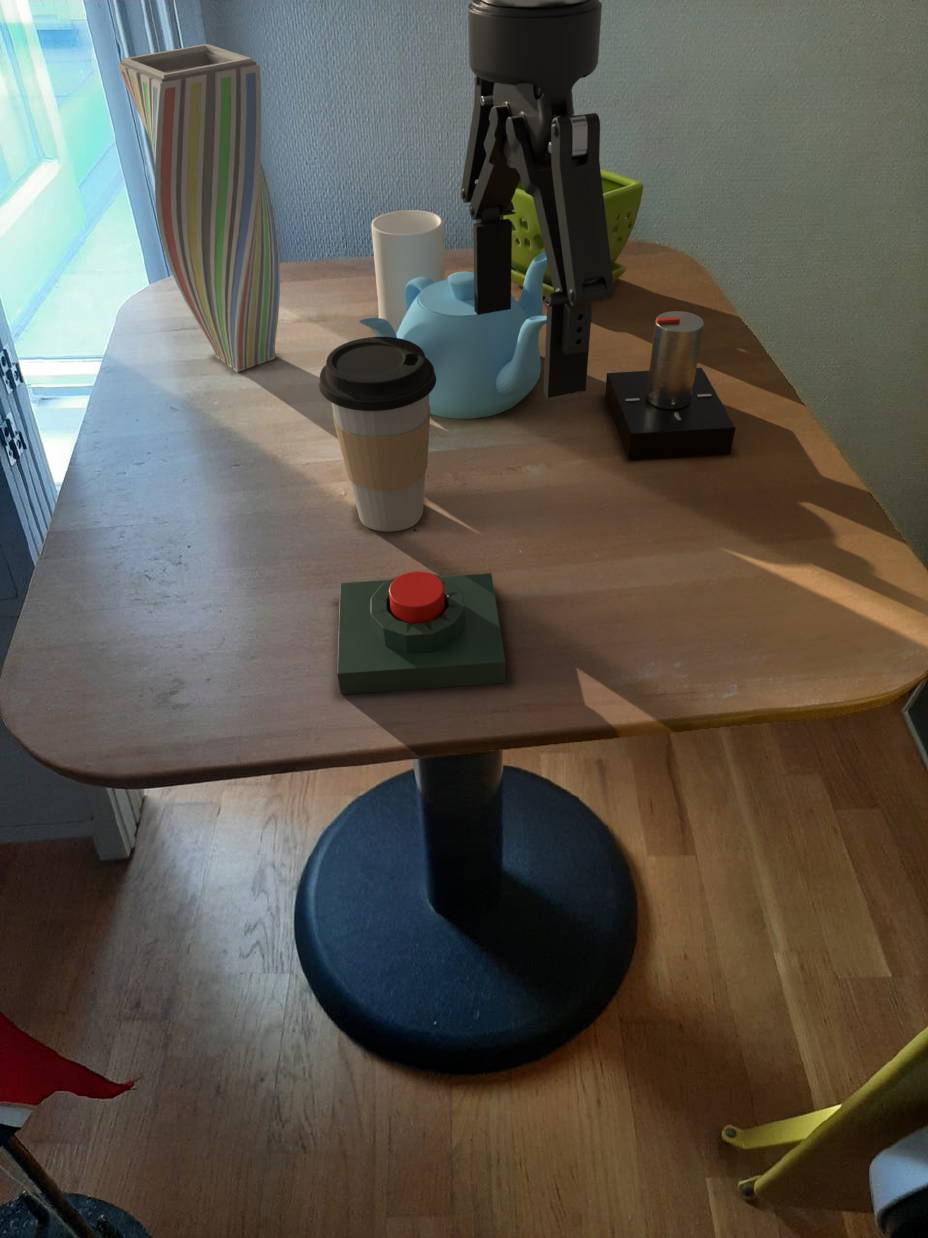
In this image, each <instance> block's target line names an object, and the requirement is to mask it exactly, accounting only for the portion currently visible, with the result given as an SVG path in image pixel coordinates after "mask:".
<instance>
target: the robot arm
mask: <svg viewBox="0 0 928 1238" xmlns="http://www.w3.org/2000/svg"><path fill="white" fill-rule="evenodd" d="M602 7H603V3H602V1H600V0H471V2H470V3H469V4H468V6H467V14H468V16H467V19H468V24H467V25H468V65H469V68H470V70H471V72H472V73H473V74H474V78H473V79H474V94H473V95H474V96H473V109H472V117H471V122H470V129H469V136H468V141H467V149H466V155H465V160H464V167H463V173H462V181H461V185H460V186H461V187H460V198H461V200H462V202H463V203H464V204H469V206H468V207H469V208H468V213H469V215H470V218H471V220H472V221H475V223H473V224H472V233H473V234H472V236H473V239H472V240H473V243H472V244H473V273H474V311H475V312H476V313H477V315H480V314H486V313H491V312H497V311H503V310H509V309H511V294H512V281H511V266H512V221H510V220H509V219H502V220H500V216H506V215H512V214H515V212H513V211H512V210H514V206H513V203H512V202H511V201H512V198H513V196H514V193H515V191H516V189H517V186H518V184H519V181H520V179H521V182H522V186H523V189H524V191H525V192H526V193H527V194H529V195H531V196H532V197H533V200H534V204H535V209H536V213H537V218H538V222H539V226H540V231H541V235H542V240H543V244H544V249H545V253H546V258H547V262H548V267H549V271H550V276H551V280H552V284H553V289H554V293H550V295H548V296H547V297H545V298H544V299H543V302H544V304H545V306H546V316H547V321H546V323H545V324H546V325H545V347H544V348H545V349H544V372H543V373H544V375H543V394H544V395H545V397H546V398H547V399H551V398H556V397H561V396H565V395H571V394H575V393H581V392H586V390H587V377H588V364H589V351H590V337H591V324H592V310H593V303H599V302H606V301H610V300H612V299H613V298H614V295H615V286H614V282H613V276H612V267H611V258H610V250H609V241H608V232H607V223H606V214H605V205H604V197H603V188H602V179H601V170H600V169H601V163H600V154H601V153H600V151H601V150H600V149H601V148H600V147H601V121H600V120H601V119H600V117H599V114H598V113H597V112H592V113H584V114H583V113H582V114H575V109H574V99H573V88H574V86H575V84H576V83H577V82H578V81H579V80H580V79H581V78H582V79H583V78H586V77H588V76H590V75H591V74H592V73H593V72H594V71H595V70H596V68H597V67H598V64H599V53H600V40H601V39H600V38H601V25H602V10H603V8H602ZM476 181H477V182H476Z"/></svg>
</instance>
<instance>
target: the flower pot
mask: <svg viewBox="0 0 928 1238" xmlns="http://www.w3.org/2000/svg"><path fill="white" fill-rule="evenodd" d="M600 170H601V179H602V188H603V197H604V205H605V214H606V223H607V232H608V241H609V250H610V258H611V267H612V276H613V283H615V282H616V281H617V280H618V279H619V278H620V277H622V275H624V273H625V271H626V270H627V267H626V266H625V265H623V264H621V263H619V262H616V261H617V259H618V257H620V255H621V253H622V251H623V250H624V248H625V247H626V245H627V242H628V240H629V238H630V236H631V233H632V232H633V228H634V226H635V224H636V220H637V217H638V214H639V210H640V207H641V206H640V205H641V202H642V197H643V192H644V183H642V182H641V181H639V180H635V179H633V178H630V177H627V176H625V175H621V174H618V173H616V172H612V171H609V170H606V169H603V168H600ZM511 202H512V203H513V206H514V210H512V211H513V212H515V214H512V215H506V216H500V220H502V219H509V220H510V221H512V266H511V283H513V284H516V285H518V286H519V287H522V288H523V285H524V280H525V276H526V273H527V270H528V268H529V266H530V264H531V262H532V261H533V260H534V258H535V257H537V256H538V255H539V254H540V253H542V252H543V251H545V249H544V244H543V240H542V235H541V231H540V226H539V222H538V218H537V213H536V209H535V204H534V200H533V197H532V196H531V195H529V194H527V193H526V192H525V191H524V189H523V186H522V182H521V179H520V181H519V184H518V186H517V189H516V191H515V193H514V196H513V198H512V201H511ZM542 292H543V298H546V297H547V296H548V295H550V293H554V289H553V284H552V280H551V276H550V271H549V267H548V265H547V267H546V270H545V272H544V277H543V287H542Z"/></svg>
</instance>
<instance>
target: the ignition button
mask: <svg viewBox="0 0 928 1238" xmlns="http://www.w3.org/2000/svg"><path fill="white" fill-rule="evenodd" d="M430 573H431V572H427V573H426V572H425V571H409V572H406V573H402V574H403V575H402V574H400V575H401V576H400V575H398V576H399V577H398V576H396V577H397V578H396V577H395V578H396V579H395V580H394V581H393V582H392V583H391V585H390V588H389V597H390V607H391V612H392V613H393V615H394V616H395V617H396V618H397V619H398V620H400V621H402V622H405V623H408V624H418V623H428V622H430V621H432V620H435V619H436V618H438V617H439V616H440V615H441V613H442V612H443V610H444V606H445V603H444V587H443V584H442V582H441V580H440V579H439V578H437V577H436V576H435V575H436V574H435V575H432V574H433V573H431V574H430Z"/></svg>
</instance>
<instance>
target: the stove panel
mask: <svg viewBox="0 0 928 1238" xmlns="http://www.w3.org/2000/svg"><path fill="white" fill-rule="evenodd" d="M648 376H649V370H633V371H619V372H606V379H605V391H604V402H605V403H606V406H607V409H608V411H609V414H610V416H611V419H612V422H613V424H614V427H615V429H616V433H617V435H618V437H619V440H620V442H621V445H622V448H623V450H624V454H625V456H626V459H627V461H641V460H642V461H644V460H658V459H659V460H660V459H675V458H677V459H678V458H691V457H709V456H724V455H731V453H732V447H733V444H734V443H733V442H734V438H735V434H736V433H735V432H736V428H737V427H736V425H735V424H734V422H733V420H732V419H731V416H730V415H729V413H728V411H727V409H726V408H725V406H724V404H723V402H722V400H721V399H720V397H719V395H718V393H717V392H716V390H715V388H714V387H713V385H712V383H711V381H710V380H709V378H708V376H707V374H706V373H705V371H704V369H703V367H696V373H695V380H694V386H693V392H692V398H691V402H690V403H689V404H688V405H687V406H685V407H683V408H680V409H663V408H659V407H656V406H654V405H652V404H650V403H649V402H648V401H647V399H646V392H647V384H648Z"/></svg>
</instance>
